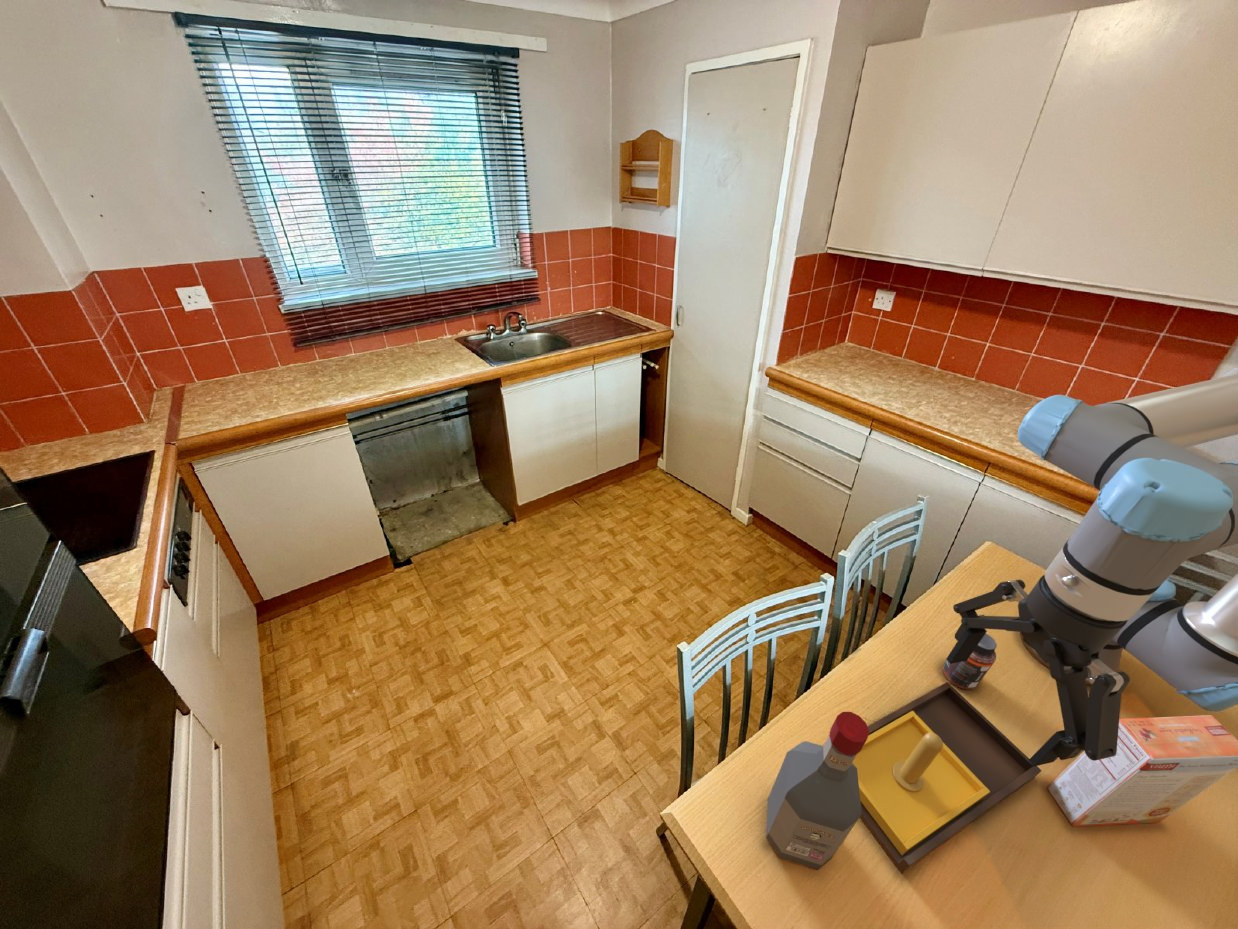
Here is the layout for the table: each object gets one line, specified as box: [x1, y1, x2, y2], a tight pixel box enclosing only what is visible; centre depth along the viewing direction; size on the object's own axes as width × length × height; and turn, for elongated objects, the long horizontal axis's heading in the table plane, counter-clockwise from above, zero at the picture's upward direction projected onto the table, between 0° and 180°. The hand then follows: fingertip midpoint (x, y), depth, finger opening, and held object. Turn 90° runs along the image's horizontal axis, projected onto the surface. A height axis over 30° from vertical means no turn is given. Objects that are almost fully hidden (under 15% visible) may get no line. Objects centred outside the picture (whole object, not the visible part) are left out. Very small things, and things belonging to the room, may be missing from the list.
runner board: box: [859, 681, 1042, 875], centre depth 82 cm, size 30×17×3 cm, turn 115°
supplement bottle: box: [942, 633, 998, 690], centre depth 94 cm, size 6×6×11 cm
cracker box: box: [1046, 714, 1238, 827], centre depth 73 cm, size 14×6×21 cm, turn 92°
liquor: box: [765, 711, 869, 871], centre depth 67 cm, size 9×9×30 cm
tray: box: [852, 711, 990, 856], centre depth 77 cm, size 18×14×13 cm
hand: (994, 706), depth 65 cm, fingers open, 13 cm apart
